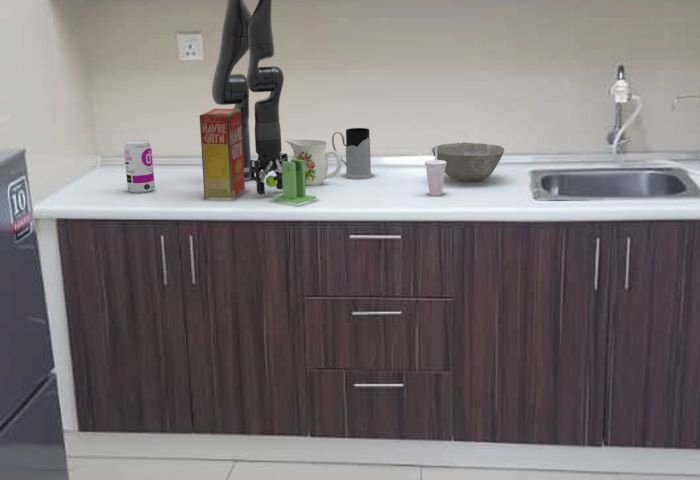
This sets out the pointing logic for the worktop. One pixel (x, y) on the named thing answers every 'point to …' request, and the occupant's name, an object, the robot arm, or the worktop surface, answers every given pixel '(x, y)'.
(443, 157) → the ceramic bowl
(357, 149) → the glass holder
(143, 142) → the supplement can
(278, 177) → the switch lever
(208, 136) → the food packaging
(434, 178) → the smoothie
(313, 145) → the pitcher
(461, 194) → the worktop surface
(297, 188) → the green crank stand
